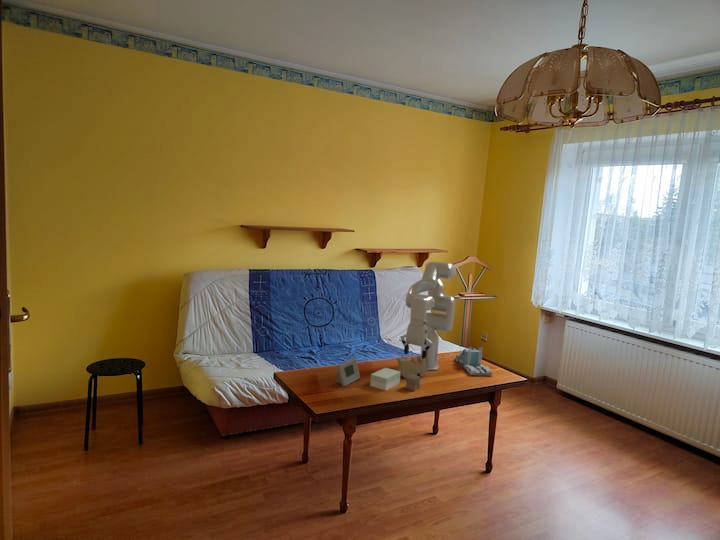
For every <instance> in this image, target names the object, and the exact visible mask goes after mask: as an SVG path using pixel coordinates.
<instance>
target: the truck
mask: <svg viewBox="0 0 720 540" xmlns="http://www.w3.org/2000/svg"><path fill="white" fill-rule="evenodd" d="M459 351H460V352H459V355H456V356H455V358H454V361H455V362H456V361H457V362H456V363H458V362H459V363H458V364H459V365H460V366H461V367H462V368H464V369H465V370H466V372H467V374H468V375H470V376H475V377H476V376H484V377H485V376H487V377H488V376H489V377H490V376H491V377H492V376H493V372H492V369H491V368H490V367H489V366H485V365H483V364H482V361H483V360H482V358H483V347H481V346H479V349H476V348H473V347H472V346H468V348H467V347H464V349H462V350H459Z"/></svg>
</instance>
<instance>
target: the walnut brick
mask: <svg viewBox="0 0 720 540" xmlns="http://www.w3.org/2000/svg"><path fill="white" fill-rule="evenodd" d="M420 382H421V376H420V375H417V376H415V375H412V374H411V375H409V376H408V377H407V378H406V383H405V389H407V390H409V391H413V392H415V391H418V390H419V389H420Z"/></svg>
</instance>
